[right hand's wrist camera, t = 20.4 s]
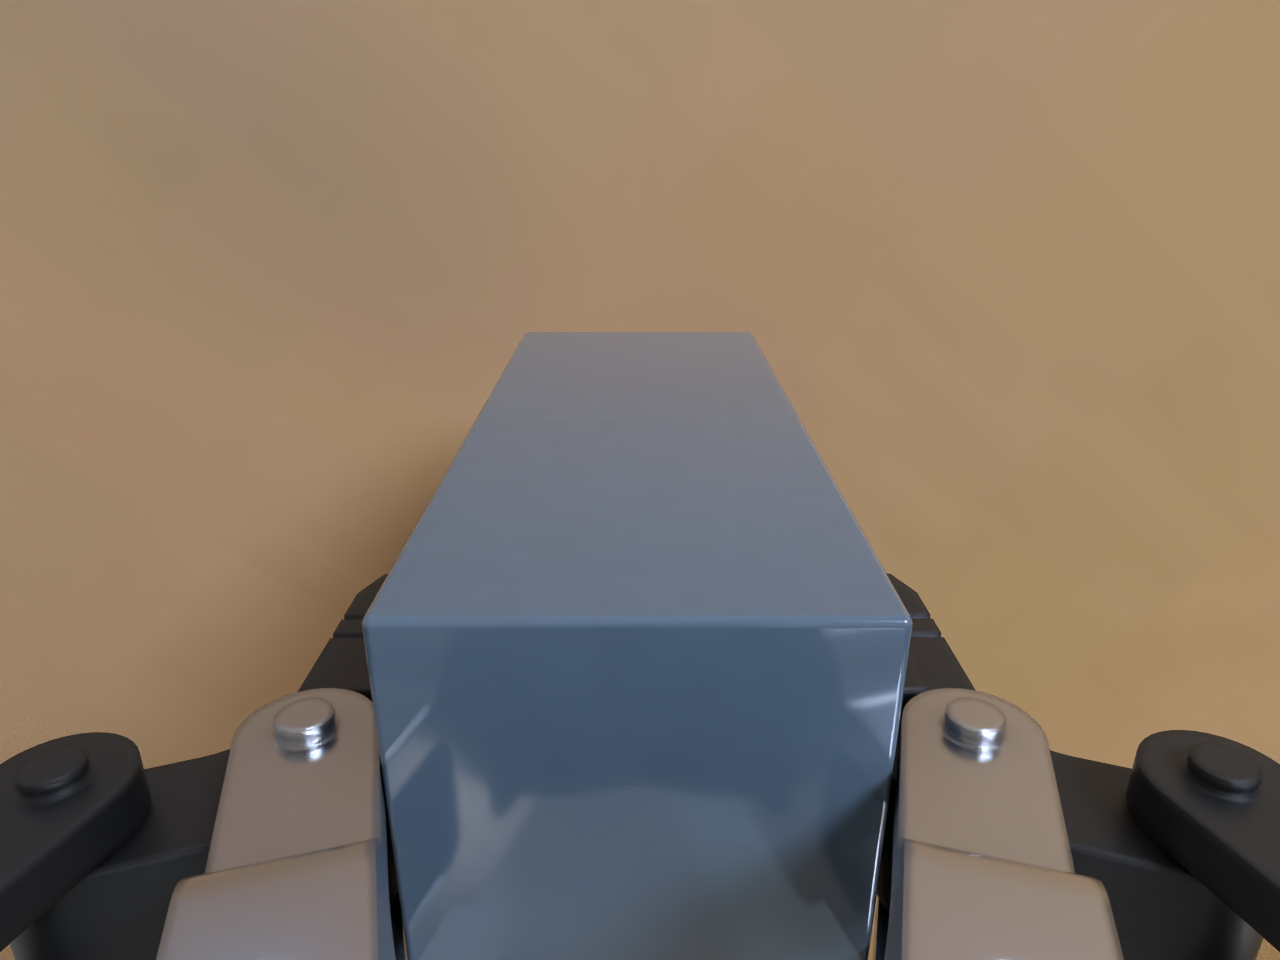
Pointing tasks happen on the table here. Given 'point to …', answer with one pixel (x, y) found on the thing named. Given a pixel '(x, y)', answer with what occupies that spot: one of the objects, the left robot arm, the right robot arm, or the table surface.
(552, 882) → the block
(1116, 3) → the table surface
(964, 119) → the table surface
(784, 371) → the table surface
